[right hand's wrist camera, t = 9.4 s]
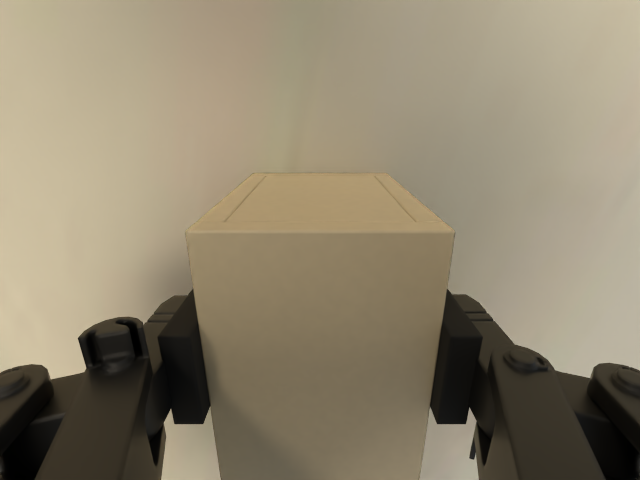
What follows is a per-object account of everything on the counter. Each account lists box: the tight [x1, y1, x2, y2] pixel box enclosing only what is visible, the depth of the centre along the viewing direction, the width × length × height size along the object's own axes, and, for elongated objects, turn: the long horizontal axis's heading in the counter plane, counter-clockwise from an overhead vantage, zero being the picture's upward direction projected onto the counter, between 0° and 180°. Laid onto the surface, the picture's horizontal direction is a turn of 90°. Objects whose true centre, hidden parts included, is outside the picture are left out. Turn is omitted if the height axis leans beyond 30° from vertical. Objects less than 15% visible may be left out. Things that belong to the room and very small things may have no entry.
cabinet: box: [185, 173, 455, 480], centre depth 14 cm, size 17×6×8 cm, turn 0°
